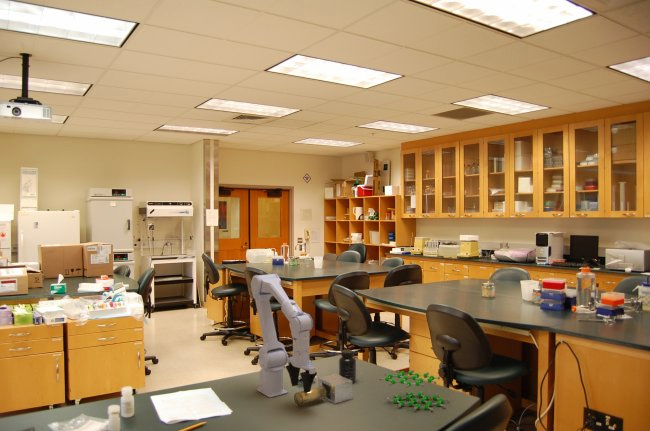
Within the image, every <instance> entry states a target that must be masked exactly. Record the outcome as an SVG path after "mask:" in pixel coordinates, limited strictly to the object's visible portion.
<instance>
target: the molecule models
mask: <svg viewBox="0 0 650 431" xmlns="http://www.w3.org/2000/svg"><path fill="white" fill-rule="evenodd" d="M396 374H397V375H396ZM396 374H395V375H393V374H392V373H387V372H385V373H384V376H385V378H382V377H379V379H378V380H379V381H386V382H389V383H388V385H389V386H390V387H391V386H392V385H396V383H400V384H402V385H404V384H406V385H405V388H406V389H407V388H410V387H412V385H415V386H416V387H419V386H421V387H422V388H424V387H425V384H424V383H423V382H427V383H429V384H431V383H433V384H434V385H436V384H437V381H436V380H435V379H438V380H441V377H440V376H436V377H435V376H434V375H430V373H429V372H425V373H423V374H420V373H419V372H416V373H415V370H414V369H412V370H409V371H408V372H405V371H403V370H401V371H400V370H396ZM407 375H409V376H411V377H409V376H407ZM422 377H423V378H424V379H423V378H422ZM393 378H396V379H397V378H398V379H400V380H396V379H393ZM426 378H427V379H426ZM408 380H412V381H415V382H411V381H408ZM406 381H407V382H406ZM405 394H406V396H402V395H400V394H399V395H397V394H393V397H394V399H390V398H388V399H387V402H388V403H390V402H393V403H394V404H398V403H399V404H398V405H397V407H398V408H401V407H403V406H405V405H408V406H409V407H413V406H414V407H413V410H414V411H417V410H420V408H423V409H425V410H426V411H427V410H430V411H431V412H433V411H434V408H433V407H432V406H434V405H435V406H437V407H442V408H446V405H445V404H444V402H447V403H449V402H450V401H451V400H450V399H449V398H447V399H444V398H442V397H440V398H438V397H439V393H435V394H434V395H433V396H428V394H426V395H423V394H424V391H419V392H418V393H414V392H409V391H408V390H407V391H405ZM415 396H416V397H417V396H418V397H419V398H420V399H417V398H415ZM402 399H406V400H407V401H409V402H405V401H404V400H402ZM429 399H433V400H434V401H436V400H438V401H436V402H432V401H430V400H429ZM427 400H428V401H427ZM418 402H420V403H422V404H425V405H420V404H418Z"/></svg>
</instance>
